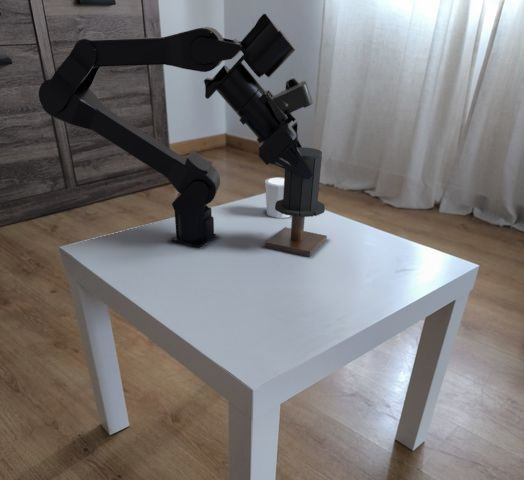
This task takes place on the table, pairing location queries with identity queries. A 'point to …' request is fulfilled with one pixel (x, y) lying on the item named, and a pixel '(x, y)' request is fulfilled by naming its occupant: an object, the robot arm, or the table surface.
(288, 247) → the hat stand
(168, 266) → the table surface
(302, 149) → the hat
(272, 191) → the white cup
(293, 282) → the table surface
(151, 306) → the table surface
